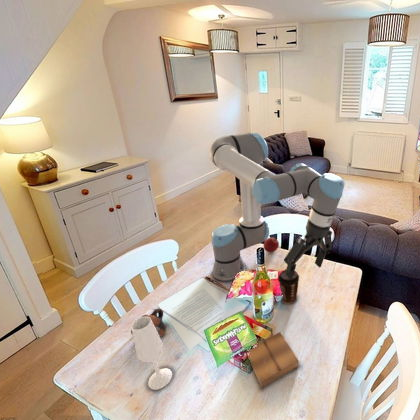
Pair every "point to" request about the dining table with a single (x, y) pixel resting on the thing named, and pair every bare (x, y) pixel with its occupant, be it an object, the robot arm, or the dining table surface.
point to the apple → (271, 244)
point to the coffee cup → (288, 286)
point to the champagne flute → (150, 350)
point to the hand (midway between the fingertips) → (303, 270)
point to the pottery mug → (157, 321)
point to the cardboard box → (272, 359)
